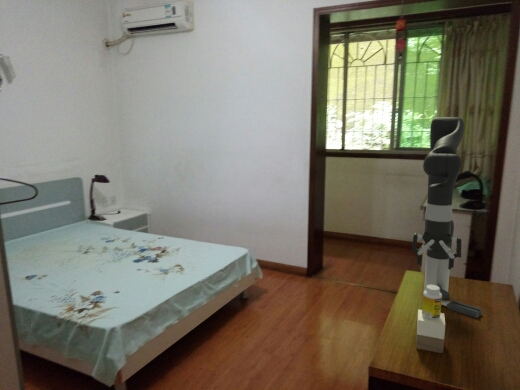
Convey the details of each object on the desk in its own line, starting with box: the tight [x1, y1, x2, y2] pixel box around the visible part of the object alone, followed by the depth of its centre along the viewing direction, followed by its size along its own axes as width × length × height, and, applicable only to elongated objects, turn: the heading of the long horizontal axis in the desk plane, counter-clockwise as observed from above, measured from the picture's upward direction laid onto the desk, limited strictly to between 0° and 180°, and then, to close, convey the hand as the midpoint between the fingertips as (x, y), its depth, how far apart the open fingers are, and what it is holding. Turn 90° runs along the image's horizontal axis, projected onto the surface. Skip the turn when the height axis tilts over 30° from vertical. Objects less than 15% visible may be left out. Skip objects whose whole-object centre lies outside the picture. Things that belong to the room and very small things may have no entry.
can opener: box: [440, 289, 482, 319], centre depth 154 cm, size 19×5×6 cm, turn 44°
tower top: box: [416, 309, 446, 340], centre depth 129 cm, size 8×8×5 cm
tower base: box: [415, 333, 445, 354], centre depth 130 cm, size 8×8×5 cm
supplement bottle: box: [421, 285, 442, 320], centre depth 128 cm, size 6×6×10 cm
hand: (434, 267), depth 126 cm, fingers open, 8 cm apart
